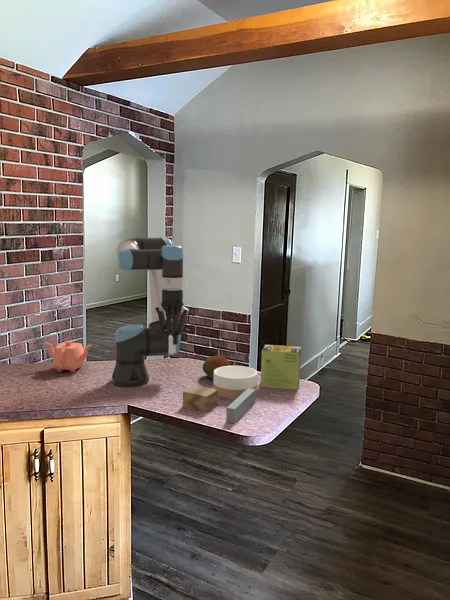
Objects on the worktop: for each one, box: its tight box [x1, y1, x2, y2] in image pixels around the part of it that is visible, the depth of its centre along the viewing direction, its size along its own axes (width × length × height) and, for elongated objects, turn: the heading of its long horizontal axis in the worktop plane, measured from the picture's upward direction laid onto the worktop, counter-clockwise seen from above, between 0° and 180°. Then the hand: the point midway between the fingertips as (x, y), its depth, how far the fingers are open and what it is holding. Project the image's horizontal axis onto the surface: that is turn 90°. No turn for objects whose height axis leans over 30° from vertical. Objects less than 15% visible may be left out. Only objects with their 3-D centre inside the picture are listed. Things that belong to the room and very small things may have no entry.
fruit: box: [202, 355, 231, 379], centre depth 220 cm, size 12×12×10 cm
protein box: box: [260, 344, 302, 391], centre depth 212 cm, size 10×15×16 cm
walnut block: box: [182, 385, 219, 413], centre depth 187 cm, size 10×8×6 cm
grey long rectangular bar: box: [225, 388, 257, 424], centre depth 182 cm, size 3×22×5 cm, turn 159°
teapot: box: [44, 340, 93, 373], centre depth 228 cm, size 15×17×13 cm
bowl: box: [212, 365, 258, 400], centre depth 203 cm, size 17×17×8 cm
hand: (172, 352), depth 188 cm, fingers closed
